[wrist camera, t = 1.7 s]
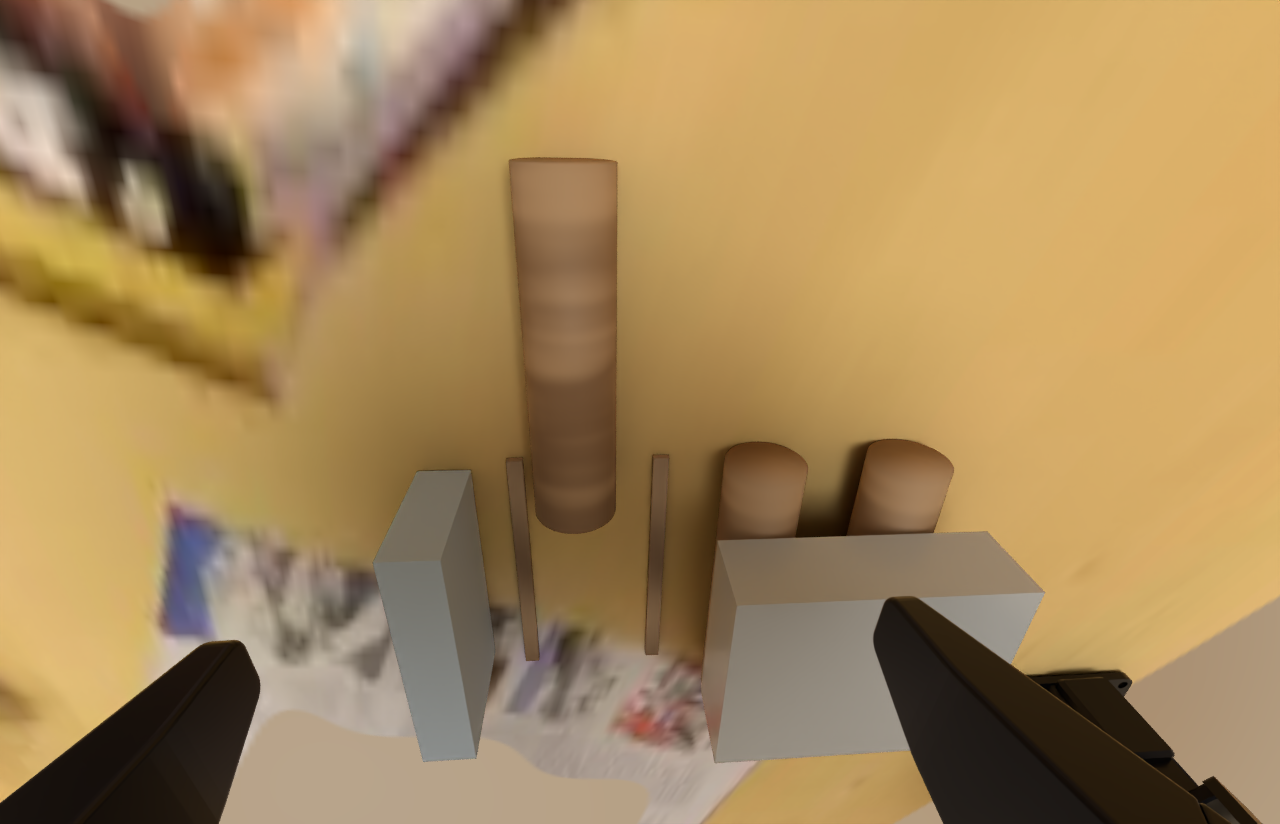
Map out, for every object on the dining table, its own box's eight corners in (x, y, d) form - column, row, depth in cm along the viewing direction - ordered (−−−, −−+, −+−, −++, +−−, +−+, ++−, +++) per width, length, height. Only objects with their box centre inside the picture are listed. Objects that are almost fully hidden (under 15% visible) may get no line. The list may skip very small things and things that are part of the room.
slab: (930, 677, 24) (971, 746, 22) (700, 690, 24) (714, 762, 21) (986, 531, 21) (1044, 592, 18) (717, 540, 20) (737, 605, 17)
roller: (614, 483, 23) (617, 532, 20) (538, 485, 23) (532, 534, 20) (615, 158, 17) (619, 166, 15) (515, 156, 17) (502, 163, 14)
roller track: (864, 647, 28) (893, 701, 26) (527, 663, 27) (520, 723, 24) (927, 438, 23) (971, 481, 20) (505, 447, 21) (493, 493, 19)
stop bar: (495, 650, 26) (476, 758, 22) (451, 652, 26) (422, 761, 22) (470, 469, 22) (440, 560, 17) (417, 471, 22) (372, 562, 17)
